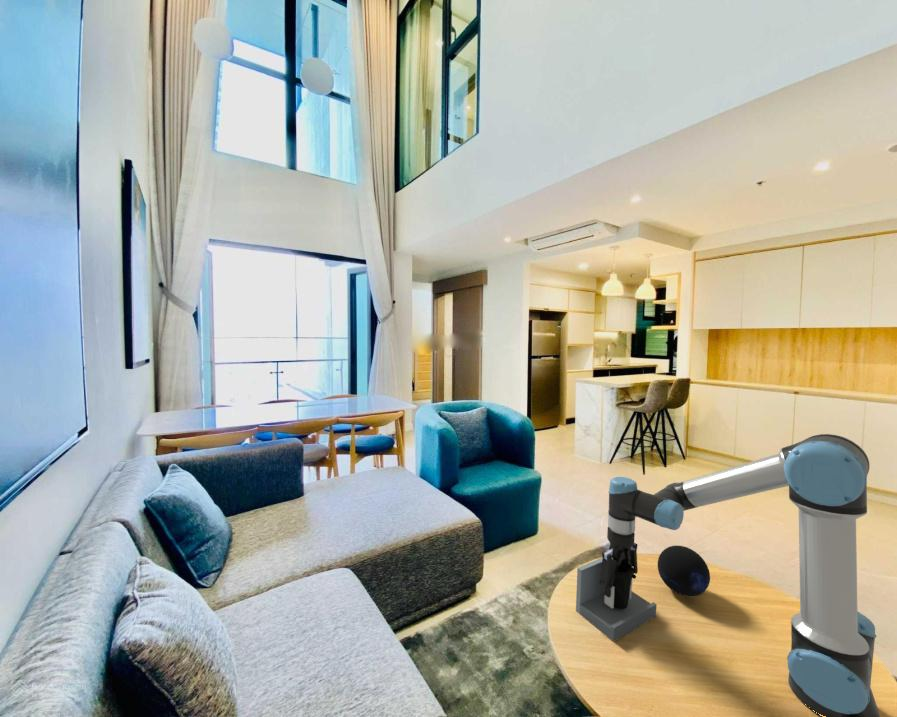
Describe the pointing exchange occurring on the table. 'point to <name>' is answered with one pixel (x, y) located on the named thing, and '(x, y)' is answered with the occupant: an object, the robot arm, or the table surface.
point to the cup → (622, 585)
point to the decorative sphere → (683, 571)
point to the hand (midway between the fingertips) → (617, 600)
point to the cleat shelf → (601, 614)
